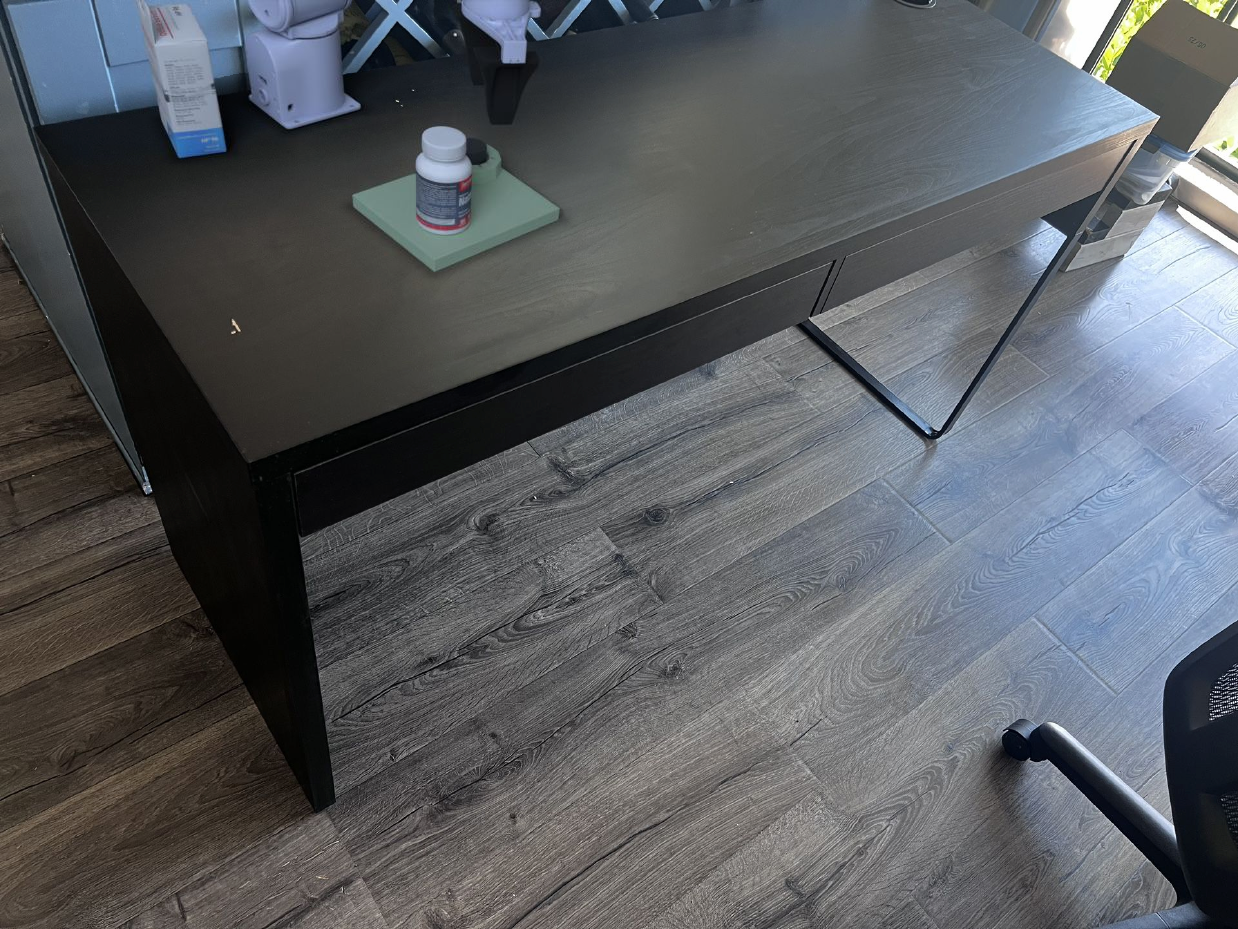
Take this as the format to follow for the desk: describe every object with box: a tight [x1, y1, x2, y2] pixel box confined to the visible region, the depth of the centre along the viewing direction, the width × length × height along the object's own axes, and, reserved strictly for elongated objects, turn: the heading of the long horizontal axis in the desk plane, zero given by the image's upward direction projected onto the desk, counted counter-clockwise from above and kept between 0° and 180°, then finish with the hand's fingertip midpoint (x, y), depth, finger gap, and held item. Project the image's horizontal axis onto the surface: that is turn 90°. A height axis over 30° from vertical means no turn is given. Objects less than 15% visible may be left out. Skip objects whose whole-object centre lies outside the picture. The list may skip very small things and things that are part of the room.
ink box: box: [135, 0, 227, 159], centre depth 93 cm, size 8×5×15 cm, turn 29°
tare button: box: [465, 137, 488, 165], centre depth 97 cm, size 3×3×2 cm
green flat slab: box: [351, 144, 561, 273], centre depth 94 cm, size 16×14×3 cm
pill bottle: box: [415, 125, 472, 235], centre depth 89 cm, size 5×5×9 cm
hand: (491, 102), depth 91 cm, fingers open, 7 cm apart
